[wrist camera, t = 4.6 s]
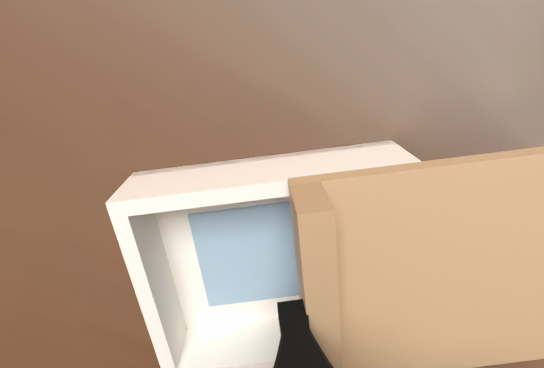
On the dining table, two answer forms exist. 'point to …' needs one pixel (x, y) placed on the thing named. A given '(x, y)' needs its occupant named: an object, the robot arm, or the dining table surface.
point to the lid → (424, 261)
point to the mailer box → (221, 250)
